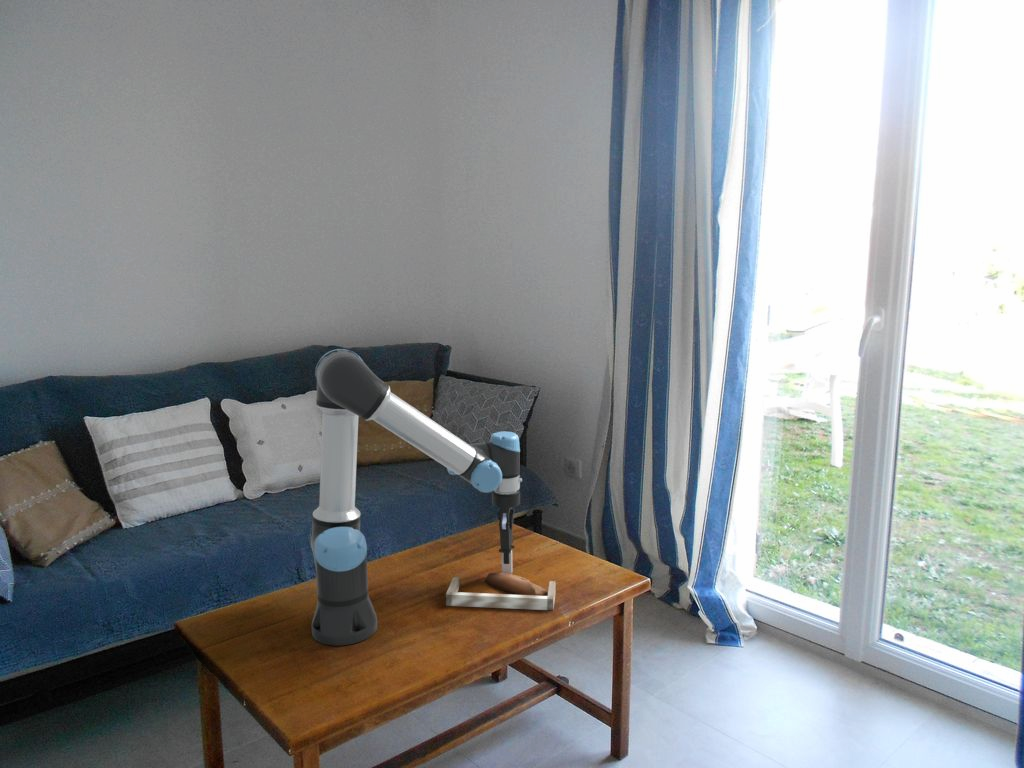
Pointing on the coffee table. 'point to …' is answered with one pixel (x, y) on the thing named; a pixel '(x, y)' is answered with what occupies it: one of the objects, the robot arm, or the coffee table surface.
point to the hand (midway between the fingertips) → (507, 572)
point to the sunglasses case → (514, 584)
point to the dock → (499, 599)
